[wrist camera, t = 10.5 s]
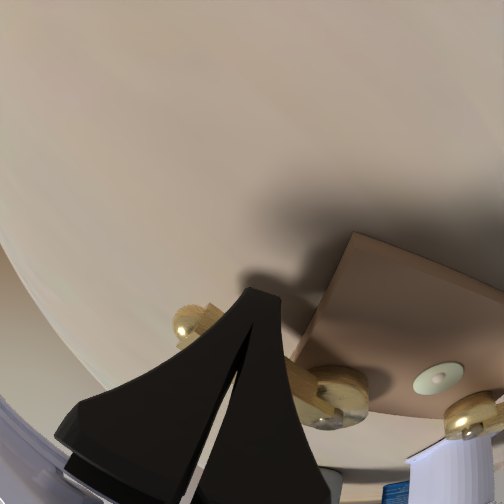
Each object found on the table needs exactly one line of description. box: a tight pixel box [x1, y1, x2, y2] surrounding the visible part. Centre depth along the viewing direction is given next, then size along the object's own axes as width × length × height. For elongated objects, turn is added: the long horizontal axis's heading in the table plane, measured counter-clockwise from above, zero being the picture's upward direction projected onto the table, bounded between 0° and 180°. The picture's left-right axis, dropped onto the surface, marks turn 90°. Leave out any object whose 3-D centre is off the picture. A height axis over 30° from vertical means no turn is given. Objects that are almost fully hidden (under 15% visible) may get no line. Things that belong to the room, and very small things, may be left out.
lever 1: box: [173, 303, 369, 430], centre depth 12 cm, size 11×4×2 cm, turn 53°
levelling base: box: [290, 231, 504, 419], centre depth 11 cm, size 10×16×2 cm, turn 78°
